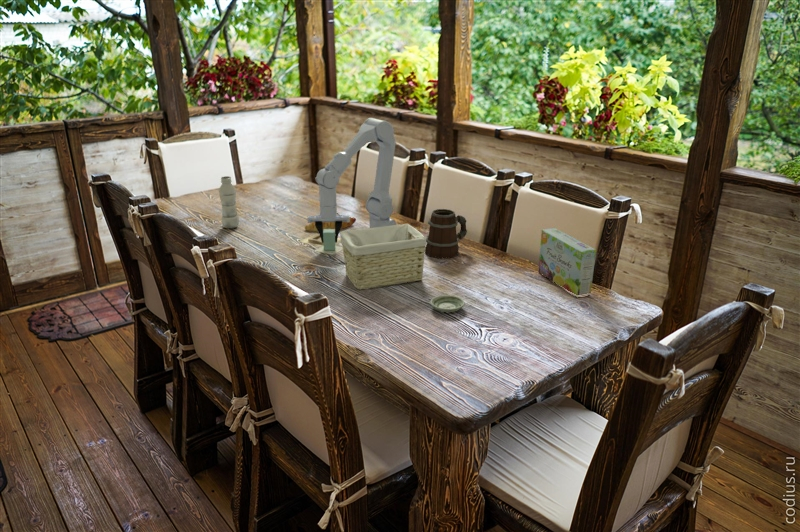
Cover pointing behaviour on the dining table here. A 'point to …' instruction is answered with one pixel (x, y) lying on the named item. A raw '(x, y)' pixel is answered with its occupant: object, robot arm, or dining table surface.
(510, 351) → the dining table surface
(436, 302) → the saucer
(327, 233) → the block
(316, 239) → the pocket board
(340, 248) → the coaster
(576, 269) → the snack box
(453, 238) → the mug
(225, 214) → the plastic bottle
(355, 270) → the storage basket
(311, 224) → the croissant
